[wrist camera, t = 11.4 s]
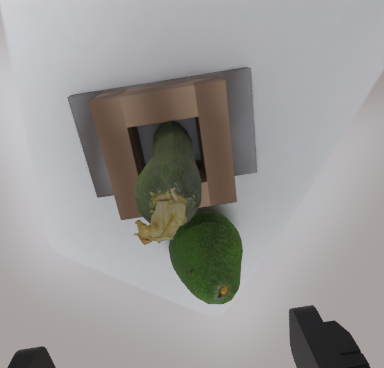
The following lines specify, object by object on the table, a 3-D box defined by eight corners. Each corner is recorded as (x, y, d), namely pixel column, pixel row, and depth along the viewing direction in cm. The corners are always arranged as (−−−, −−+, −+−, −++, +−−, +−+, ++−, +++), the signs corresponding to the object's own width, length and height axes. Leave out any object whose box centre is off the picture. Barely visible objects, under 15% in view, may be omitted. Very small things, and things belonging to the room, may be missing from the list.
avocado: (222, 255, 41) (241, 332, 30) (163, 245, 40) (161, 320, 29) (241, 202, 38) (270, 266, 27) (178, 189, 37) (182, 250, 26)
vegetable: (199, 138, 33) (234, 256, 15) (168, 164, 34) (165, 304, 16) (170, 106, 31) (170, 193, 13) (139, 134, 32) (99, 251, 14)
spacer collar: (247, 67, 32) (268, 73, 25) (253, 167, 36) (273, 195, 30) (71, 95, 32) (45, 108, 25) (100, 191, 36) (84, 225, 29)
